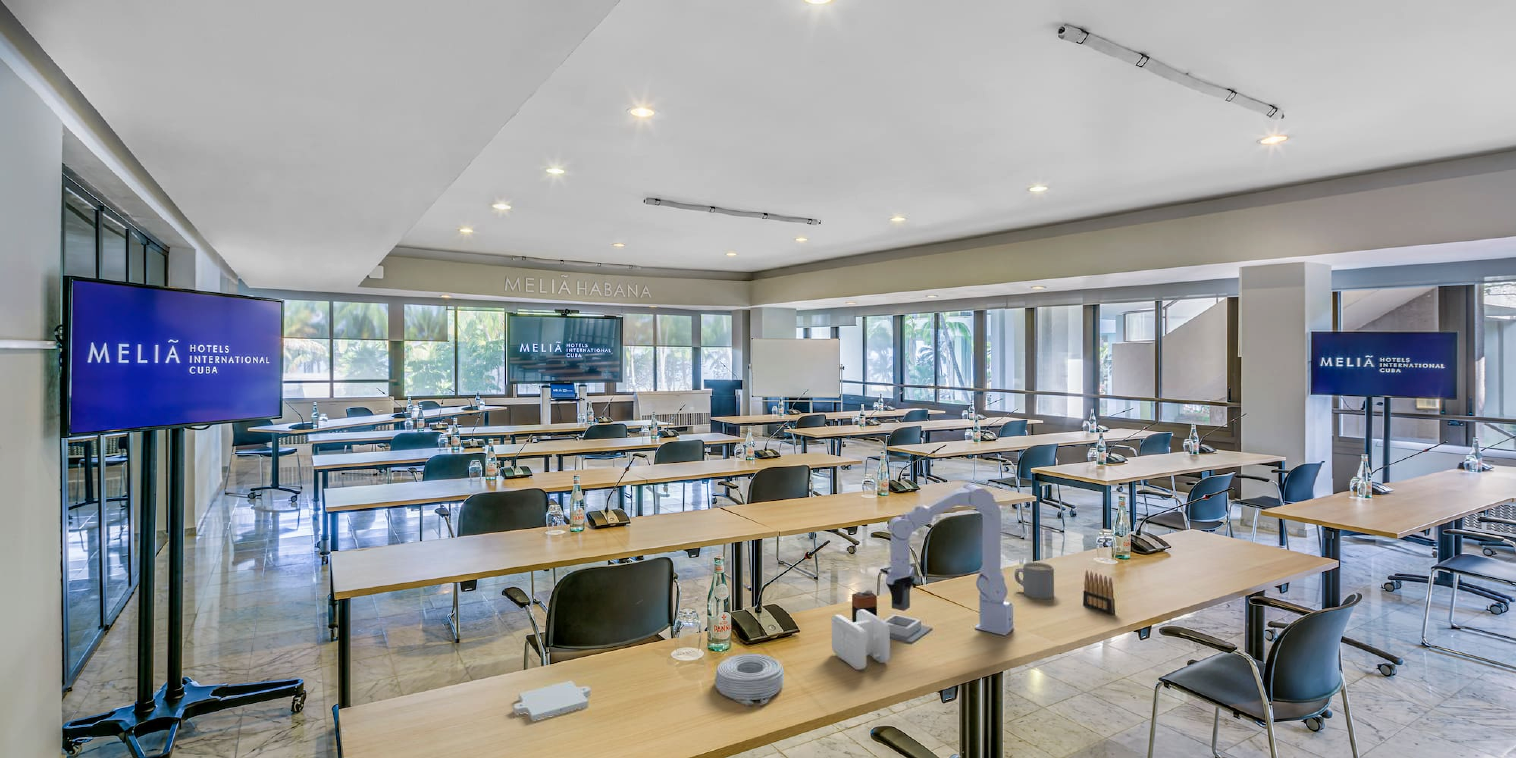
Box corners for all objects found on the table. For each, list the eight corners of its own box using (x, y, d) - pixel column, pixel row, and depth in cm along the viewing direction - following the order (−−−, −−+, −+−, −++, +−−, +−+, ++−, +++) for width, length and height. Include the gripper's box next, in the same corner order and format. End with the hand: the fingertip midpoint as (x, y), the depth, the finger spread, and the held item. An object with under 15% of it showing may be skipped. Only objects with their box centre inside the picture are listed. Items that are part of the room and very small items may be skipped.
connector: (909, 607, 208) (909, 583, 208) (903, 610, 205) (903, 586, 205) (897, 604, 210) (897, 581, 210) (891, 608, 207) (891, 584, 207)
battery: (877, 624, 213) (877, 592, 213) (858, 627, 211) (857, 595, 211) (870, 619, 217) (870, 588, 217) (851, 622, 215) (851, 590, 215)
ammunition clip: (1082, 605, 229) (1082, 569, 229) (1086, 604, 230) (1086, 569, 230) (1111, 615, 219) (1111, 578, 219) (1115, 614, 220) (1115, 577, 220)
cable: (760, 711, 159) (760, 685, 159) (700, 693, 169) (700, 669, 169) (796, 682, 174) (796, 659, 174) (739, 667, 183) (739, 645, 183)
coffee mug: (1059, 595, 239) (1059, 567, 239) (1042, 600, 234) (1042, 571, 234) (1026, 585, 250) (1026, 558, 250) (1009, 590, 245) (1009, 563, 245)
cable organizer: (892, 667, 182) (892, 623, 182) (859, 675, 178) (858, 630, 178) (861, 647, 196) (860, 606, 196) (829, 654, 191) (829, 612, 191)
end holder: (932, 629, 209) (932, 619, 209) (911, 643, 198) (911, 633, 198) (891, 619, 217) (890, 610, 217) (869, 632, 206) (869, 622, 206)
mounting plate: (520, 727, 154) (520, 718, 154) (508, 703, 165) (508, 696, 165) (598, 705, 163) (598, 697, 163) (581, 685, 174) (581, 677, 174)
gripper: (899, 550, 216) (899, 593, 216) (876, 560, 204) (877, 605, 204) (920, 554, 211) (920, 597, 211) (898, 564, 200) (898, 610, 200)
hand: (900, 602), depth 207 cm, fingers closed on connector, 4 cm apart
